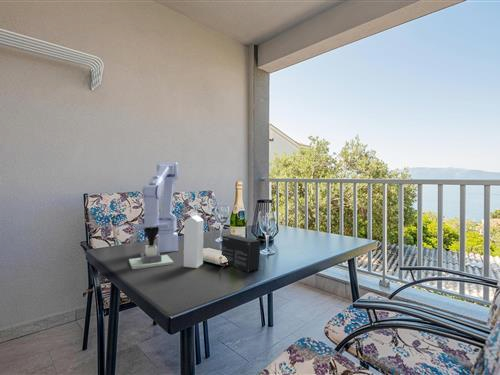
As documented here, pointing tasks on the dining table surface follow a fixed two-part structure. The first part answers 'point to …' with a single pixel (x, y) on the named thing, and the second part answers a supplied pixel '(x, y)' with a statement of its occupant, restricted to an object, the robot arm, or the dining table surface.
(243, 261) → the box
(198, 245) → the milk
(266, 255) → the dining table surface
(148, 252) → the plug
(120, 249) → the dining table surface
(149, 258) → the board
